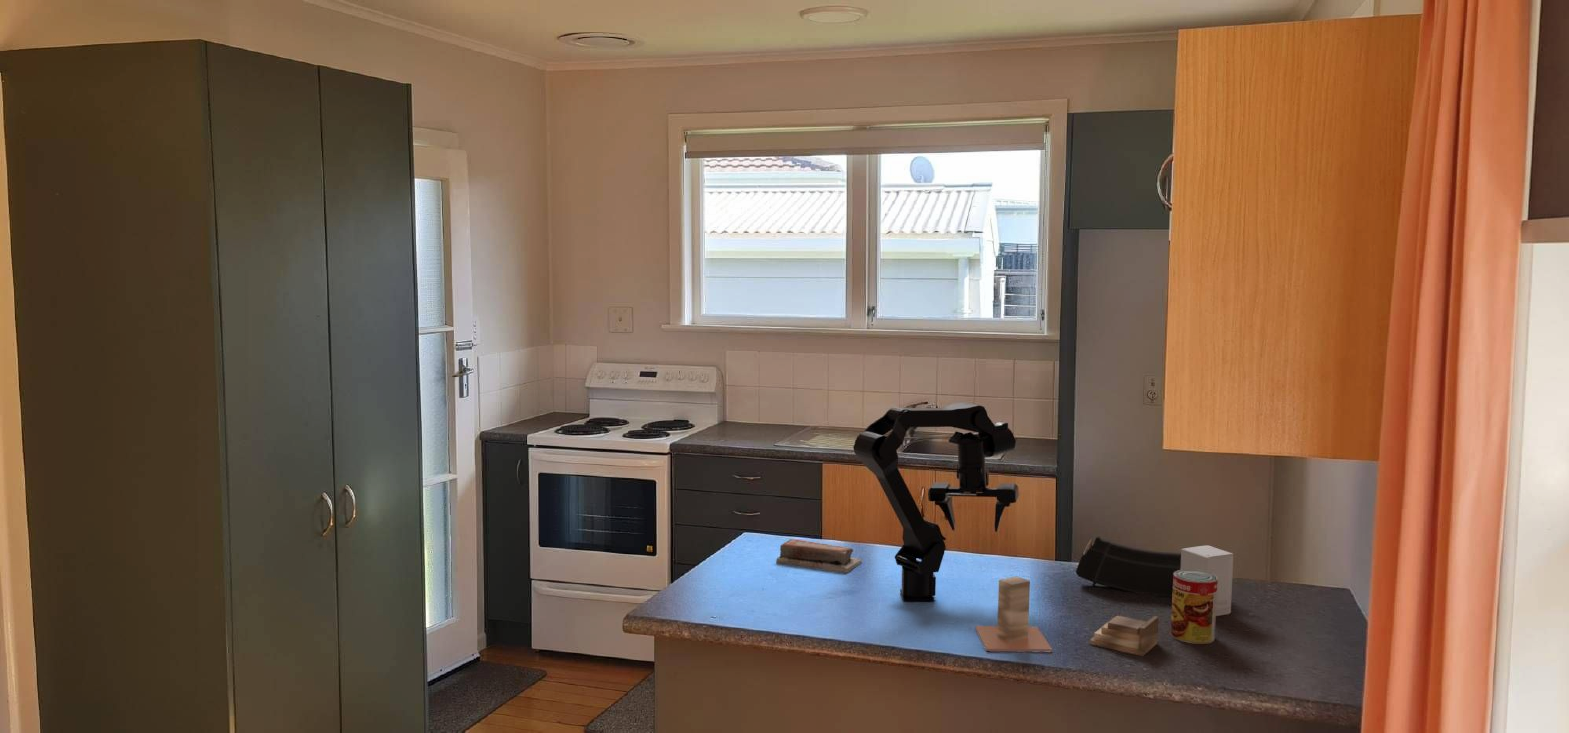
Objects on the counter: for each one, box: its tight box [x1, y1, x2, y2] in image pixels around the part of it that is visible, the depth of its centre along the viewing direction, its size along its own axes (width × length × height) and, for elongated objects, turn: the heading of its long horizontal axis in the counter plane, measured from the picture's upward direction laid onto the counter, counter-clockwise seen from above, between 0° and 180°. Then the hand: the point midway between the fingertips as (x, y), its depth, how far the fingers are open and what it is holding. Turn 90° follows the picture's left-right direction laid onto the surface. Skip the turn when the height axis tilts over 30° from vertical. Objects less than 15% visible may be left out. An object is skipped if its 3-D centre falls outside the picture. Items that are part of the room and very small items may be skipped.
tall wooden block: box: [996, 575, 1031, 642], centre depth 206 cm, size 4×4×11 cm
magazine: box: [1075, 535, 1181, 598], centre depth 236 cm, size 17×3×30 cm
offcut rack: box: [1089, 615, 1159, 657], centre depth 206 cm, size 10×8×5 cm
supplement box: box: [1180, 544, 1234, 617], centre depth 224 cm, size 7×7×13 cm
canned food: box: [1170, 569, 1218, 645], centre depth 209 cm, size 8×8×12 cm
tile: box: [974, 625, 1053, 652], centre depth 207 cm, size 12×12×1 cm
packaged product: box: [775, 538, 863, 574], centre depth 256 cm, size 18×5×10 cm
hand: (975, 530), depth 239 cm, fingers open, 9 cm apart
